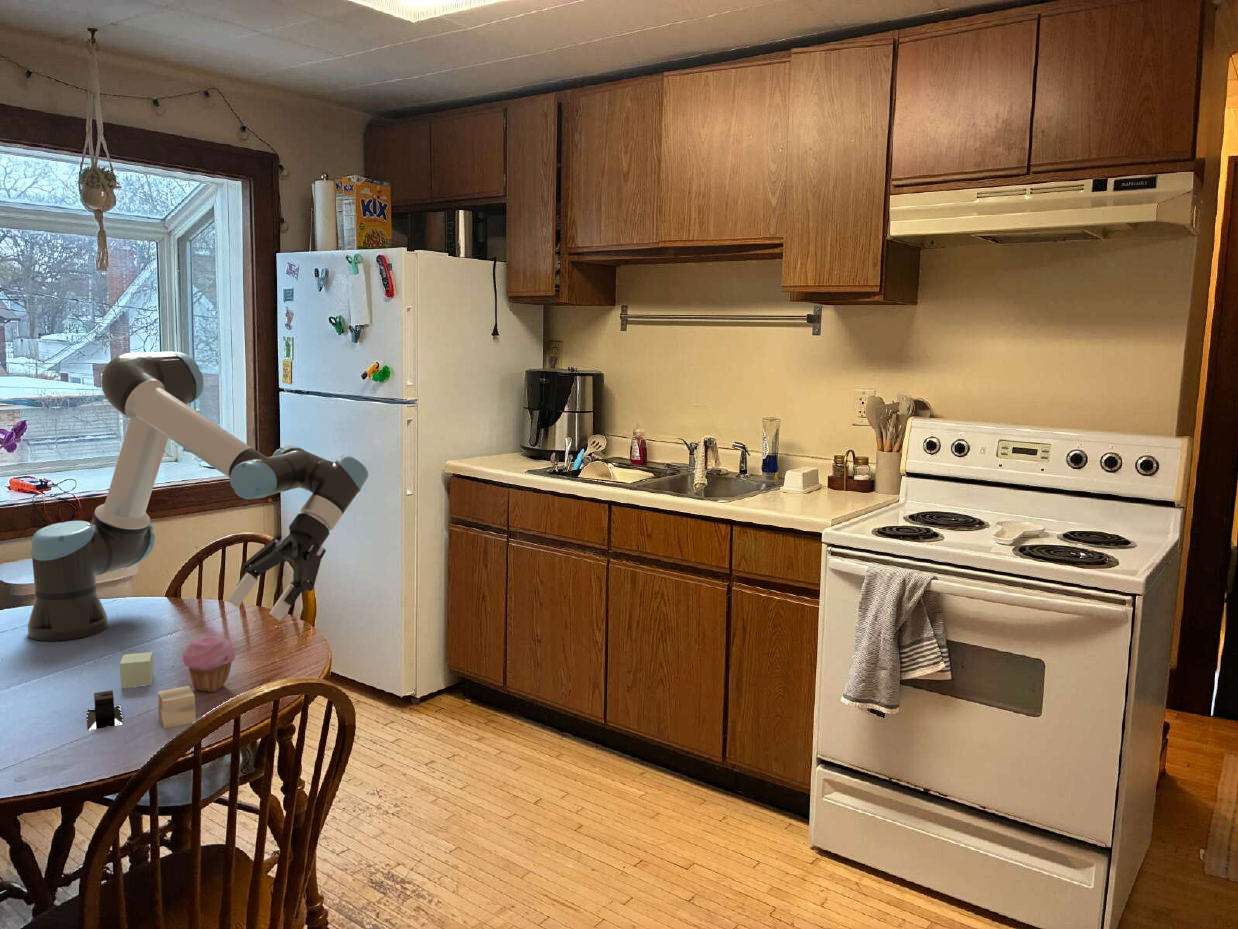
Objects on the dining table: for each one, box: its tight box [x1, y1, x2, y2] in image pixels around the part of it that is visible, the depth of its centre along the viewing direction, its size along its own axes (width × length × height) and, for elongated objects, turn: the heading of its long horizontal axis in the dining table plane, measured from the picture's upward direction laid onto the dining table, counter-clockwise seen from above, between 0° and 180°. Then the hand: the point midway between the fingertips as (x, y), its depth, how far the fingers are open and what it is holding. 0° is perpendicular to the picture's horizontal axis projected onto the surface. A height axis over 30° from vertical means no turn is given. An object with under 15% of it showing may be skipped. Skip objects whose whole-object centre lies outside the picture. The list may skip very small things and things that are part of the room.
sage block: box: [119, 651, 155, 689], centre depth 178 cm, size 5×5×5 cm
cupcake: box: [182, 635, 236, 693], centre depth 176 cm, size 9×9×10 cm
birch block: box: [157, 685, 196, 730], centre depth 162 cm, size 5×5×5 cm
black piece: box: [85, 689, 125, 731], centre depth 162 cm, size 12×7×5 cm, turn 31°
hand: (252, 610), depth 182 cm, fingers open, 13 cm apart
